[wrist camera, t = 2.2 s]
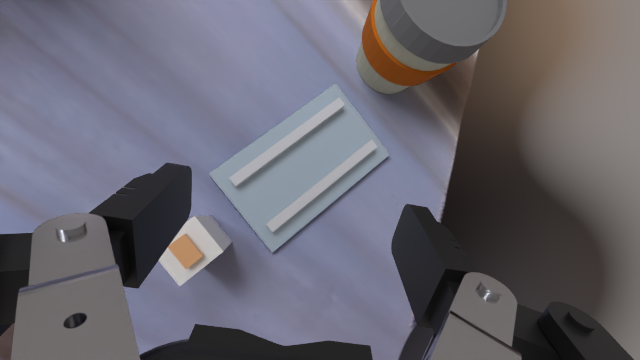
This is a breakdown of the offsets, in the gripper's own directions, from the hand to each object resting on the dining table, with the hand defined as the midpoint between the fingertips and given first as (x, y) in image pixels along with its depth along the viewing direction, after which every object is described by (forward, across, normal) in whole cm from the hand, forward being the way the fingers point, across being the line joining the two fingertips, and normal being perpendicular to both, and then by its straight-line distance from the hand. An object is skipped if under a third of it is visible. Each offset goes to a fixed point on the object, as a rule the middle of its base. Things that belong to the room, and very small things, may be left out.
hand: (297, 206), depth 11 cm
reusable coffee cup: (+36, -10, -4) cm, 38 cm away
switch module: (+19, +9, +18) cm, 28 cm away
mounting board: (+26, -1, +9) cm, 28 cm away
